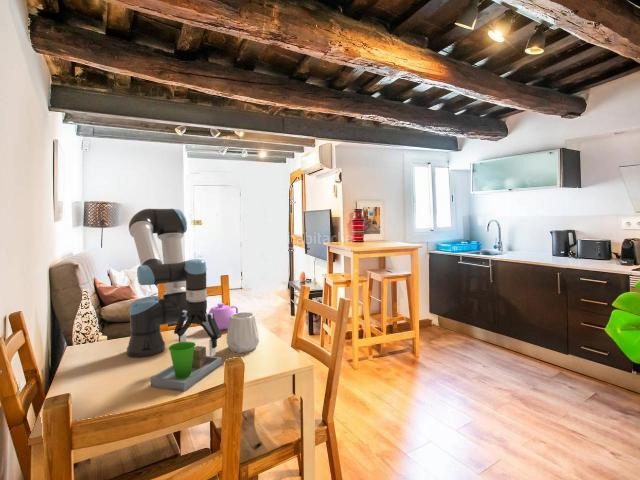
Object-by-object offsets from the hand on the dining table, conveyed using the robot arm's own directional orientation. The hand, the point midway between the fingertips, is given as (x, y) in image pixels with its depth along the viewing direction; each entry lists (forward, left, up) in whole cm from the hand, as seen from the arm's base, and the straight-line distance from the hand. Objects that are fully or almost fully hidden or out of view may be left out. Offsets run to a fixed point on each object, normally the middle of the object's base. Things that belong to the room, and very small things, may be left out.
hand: (197, 353), depth 133 cm
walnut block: (+1, -1, -4) cm, 5 cm away
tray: (+1, -7, -5) cm, 9 cm away
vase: (+7, +22, -6) cm, 24 cm away
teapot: (-19, +43, -6) cm, 47 cm away
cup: (+1, -10, -5) cm, 11 cm away
